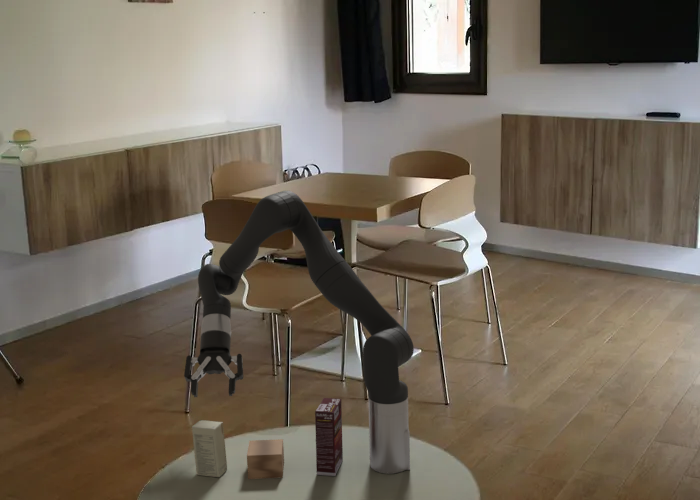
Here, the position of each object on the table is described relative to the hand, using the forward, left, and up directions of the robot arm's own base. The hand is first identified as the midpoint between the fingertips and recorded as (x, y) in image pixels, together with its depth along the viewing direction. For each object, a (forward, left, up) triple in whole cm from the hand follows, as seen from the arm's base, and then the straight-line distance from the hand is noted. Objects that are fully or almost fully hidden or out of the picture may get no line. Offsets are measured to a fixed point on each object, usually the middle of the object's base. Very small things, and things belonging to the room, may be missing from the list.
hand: (213, 395), depth 213 cm
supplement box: (-28, +10, -15) cm, 33 cm away
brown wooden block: (-13, +10, -15) cm, 22 cm away
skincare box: (0, +10, -15) cm, 18 cm away
